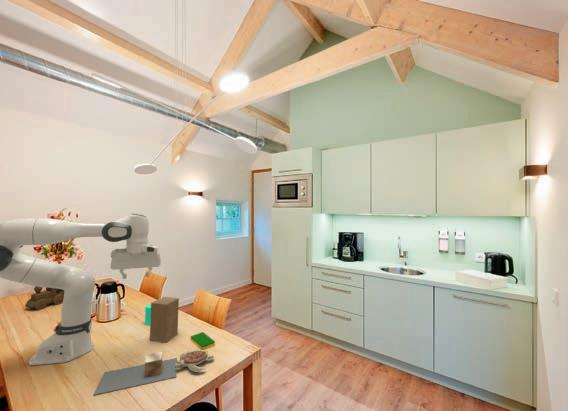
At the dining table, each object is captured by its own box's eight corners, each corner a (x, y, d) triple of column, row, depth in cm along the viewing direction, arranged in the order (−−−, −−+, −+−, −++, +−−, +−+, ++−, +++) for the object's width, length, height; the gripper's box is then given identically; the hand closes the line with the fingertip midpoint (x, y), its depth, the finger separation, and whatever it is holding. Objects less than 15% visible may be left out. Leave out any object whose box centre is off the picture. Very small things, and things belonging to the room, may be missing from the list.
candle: (142, 324, 148) (143, 304, 148) (151, 320, 153) (151, 301, 154) (149, 326, 146) (150, 305, 146) (158, 322, 151) (158, 302, 152)
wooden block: (165, 343, 127) (167, 304, 127) (149, 340, 129) (150, 302, 129) (177, 334, 136) (179, 297, 137) (162, 332, 138) (163, 296, 139)
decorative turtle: (167, 361, 110) (167, 350, 110) (201, 349, 122) (202, 338, 122) (183, 381, 97) (183, 368, 97) (220, 365, 109) (221, 354, 109)
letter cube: (161, 359, 102) (160, 374, 101) (162, 351, 107) (162, 365, 107) (144, 362, 99) (144, 377, 99) (147, 354, 105) (146, 368, 105)
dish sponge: (202, 336, 135) (202, 331, 135) (215, 346, 125) (215, 341, 125) (190, 340, 130) (190, 336, 130) (201, 351, 120) (202, 346, 120)
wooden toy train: (58, 300, 186) (59, 278, 186) (68, 302, 182) (69, 279, 183) (23, 309, 167) (24, 285, 167) (33, 312, 163) (34, 287, 164)
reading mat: (93, 395, 89) (93, 394, 89) (104, 372, 102) (104, 371, 102) (176, 377, 100) (176, 376, 100) (177, 358, 113) (177, 357, 113)
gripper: (109, 249, 108) (107, 281, 108) (160, 248, 116) (159, 277, 116) (112, 248, 114) (111, 277, 114) (161, 246, 122) (160, 274, 121)
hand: (136, 277), depth 115 cm, fingers open, 8 cm apart
